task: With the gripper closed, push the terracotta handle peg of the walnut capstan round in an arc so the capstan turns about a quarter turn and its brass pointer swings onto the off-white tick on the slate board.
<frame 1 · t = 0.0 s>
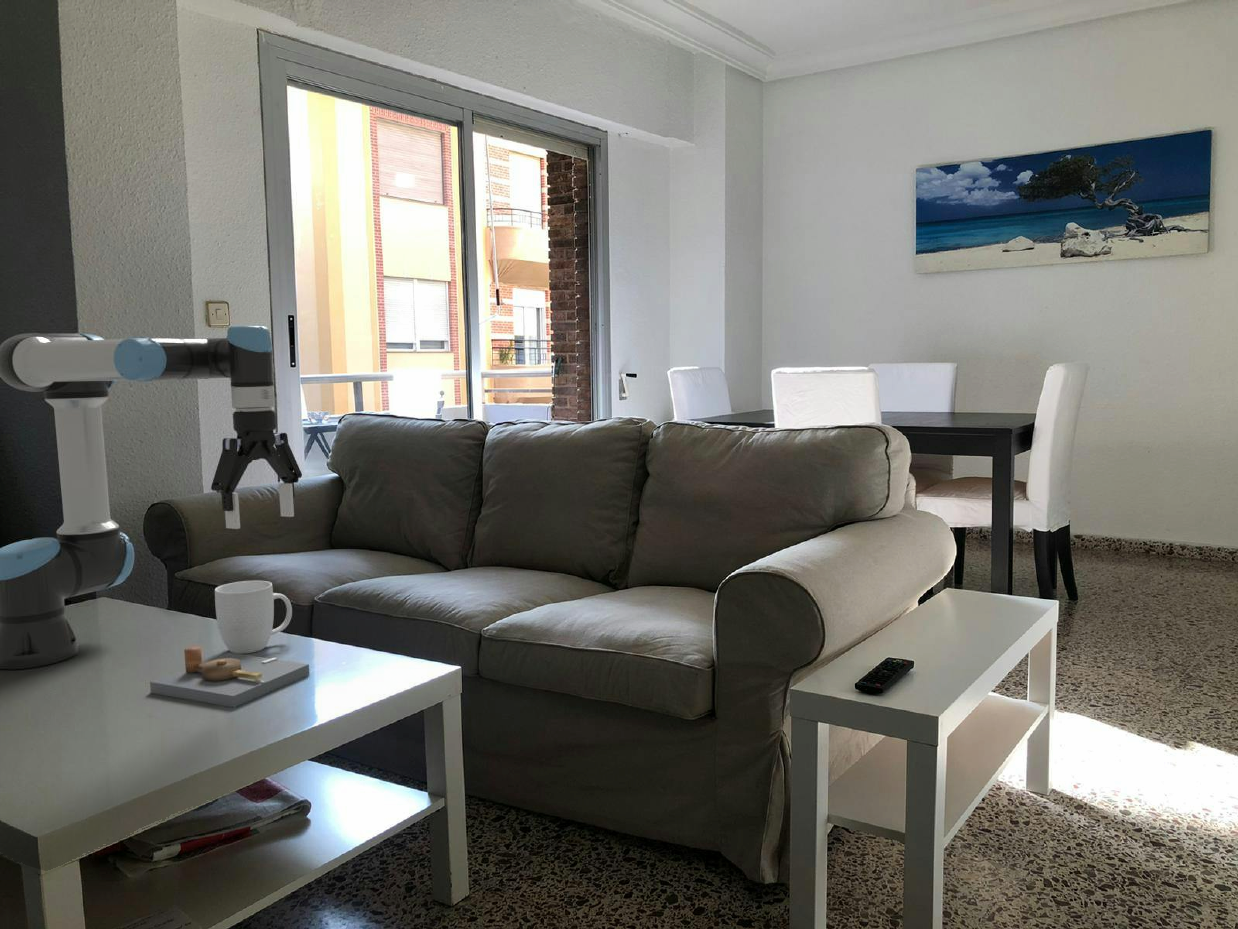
hand: (261, 522, 182), 28 cm above the table, fingers open, 13 cm apart
mug: (253, 649, 197), on the table
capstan: (222, 664, 173), point 4 cm above the table, hinge at 0.0°
board: (231, 683, 175), on the table
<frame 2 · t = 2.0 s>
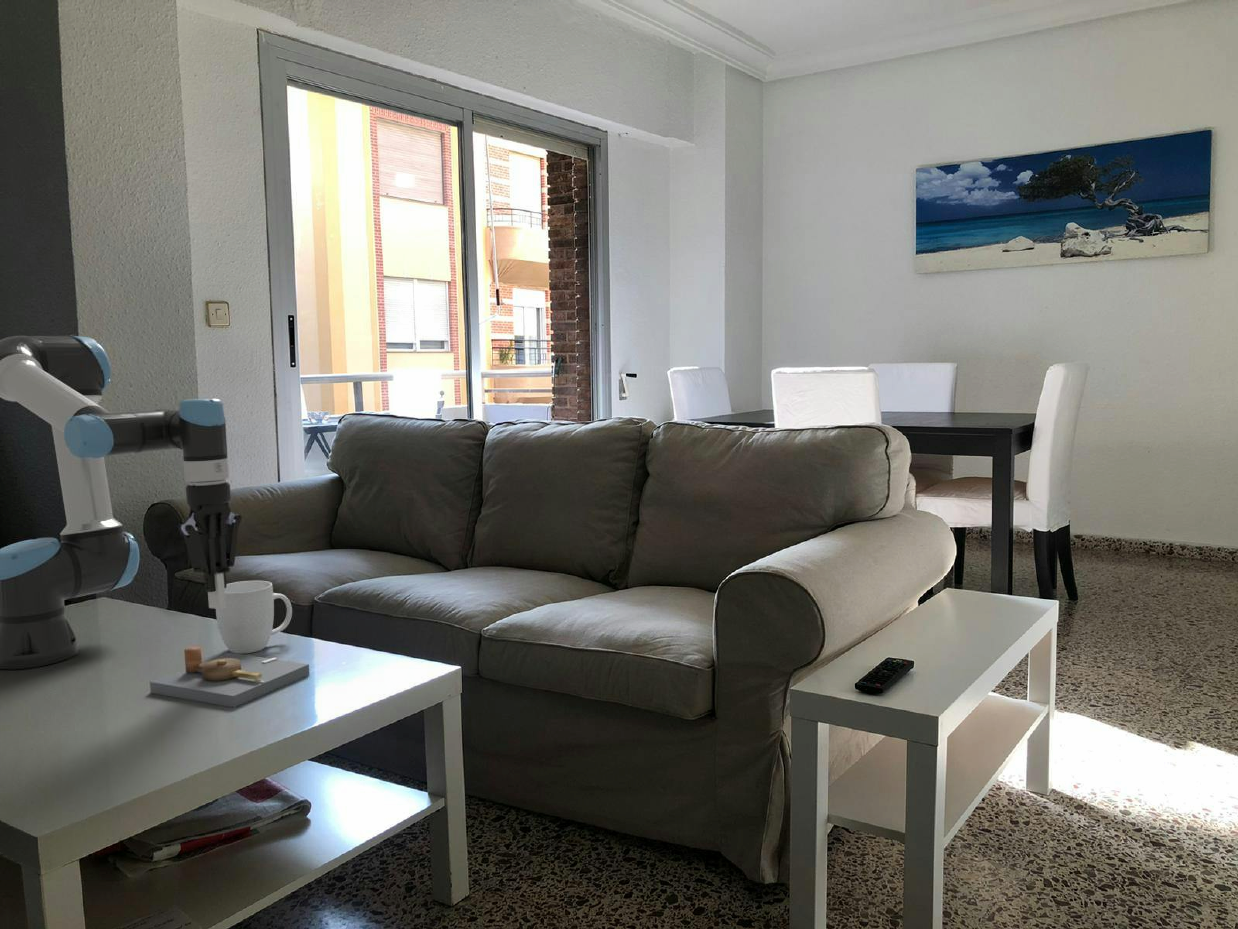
hand: (217, 607, 180), 13 cm above the table, fingers closed
nothing on the table moved.
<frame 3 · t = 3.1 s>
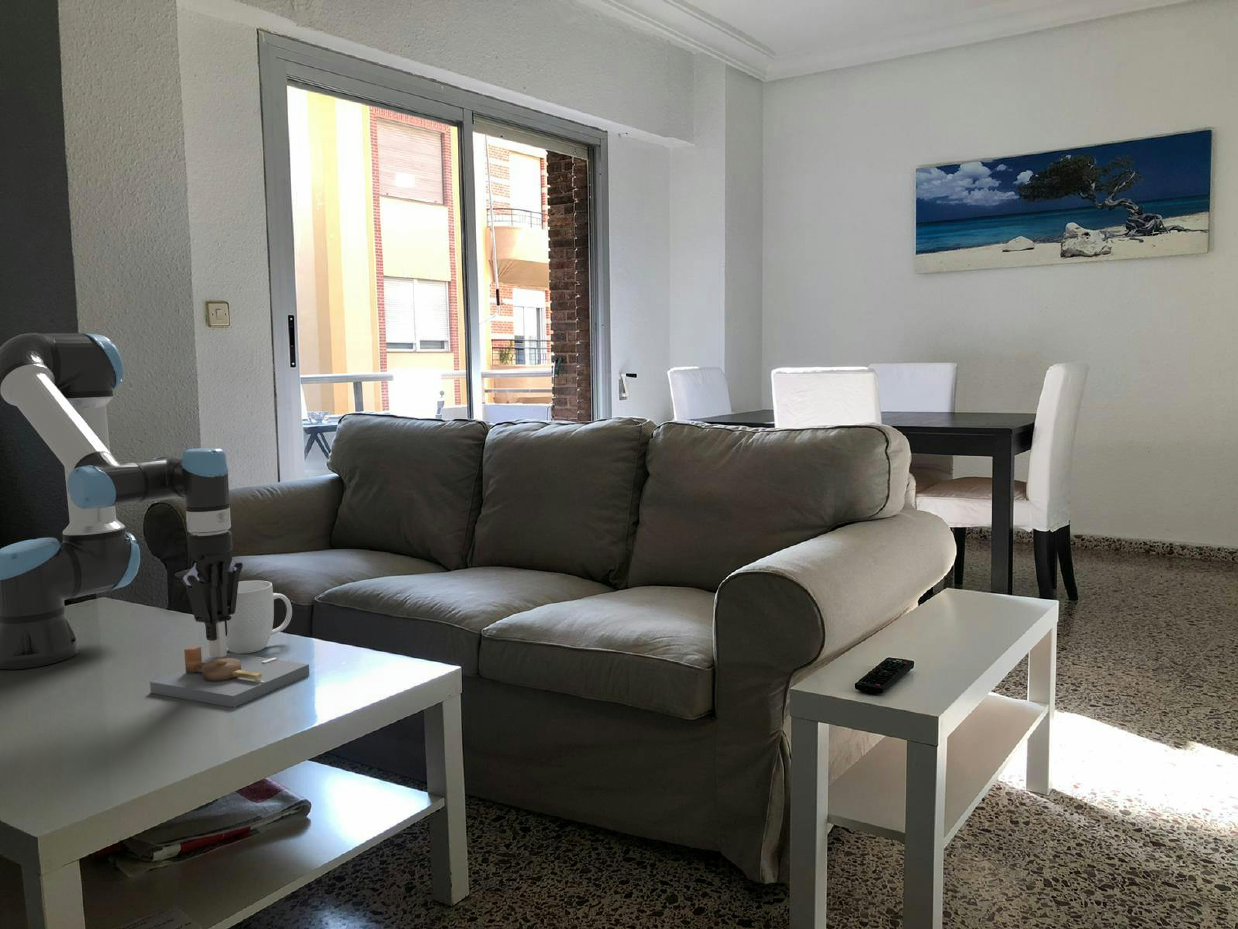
hand: (218, 655, 181), 3 cm above the table, fingers closed
nothing on the table moved.
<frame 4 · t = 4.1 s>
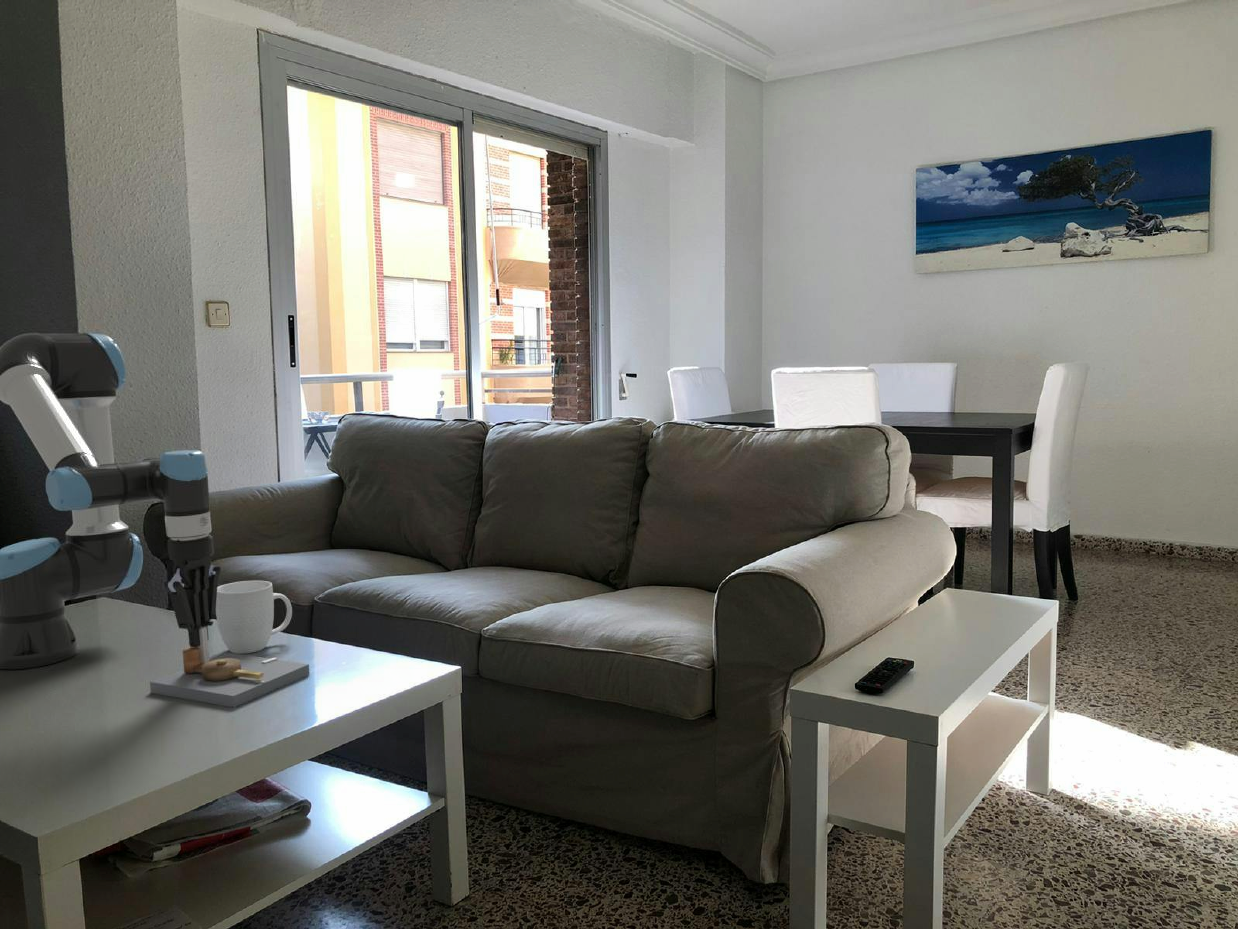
hand: (200, 661, 177), 3 cm above the table, fingers closed
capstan: (222, 664, 173), point 4 cm above the table, hinge at 3.1°, touching gripper
everything else where it was.
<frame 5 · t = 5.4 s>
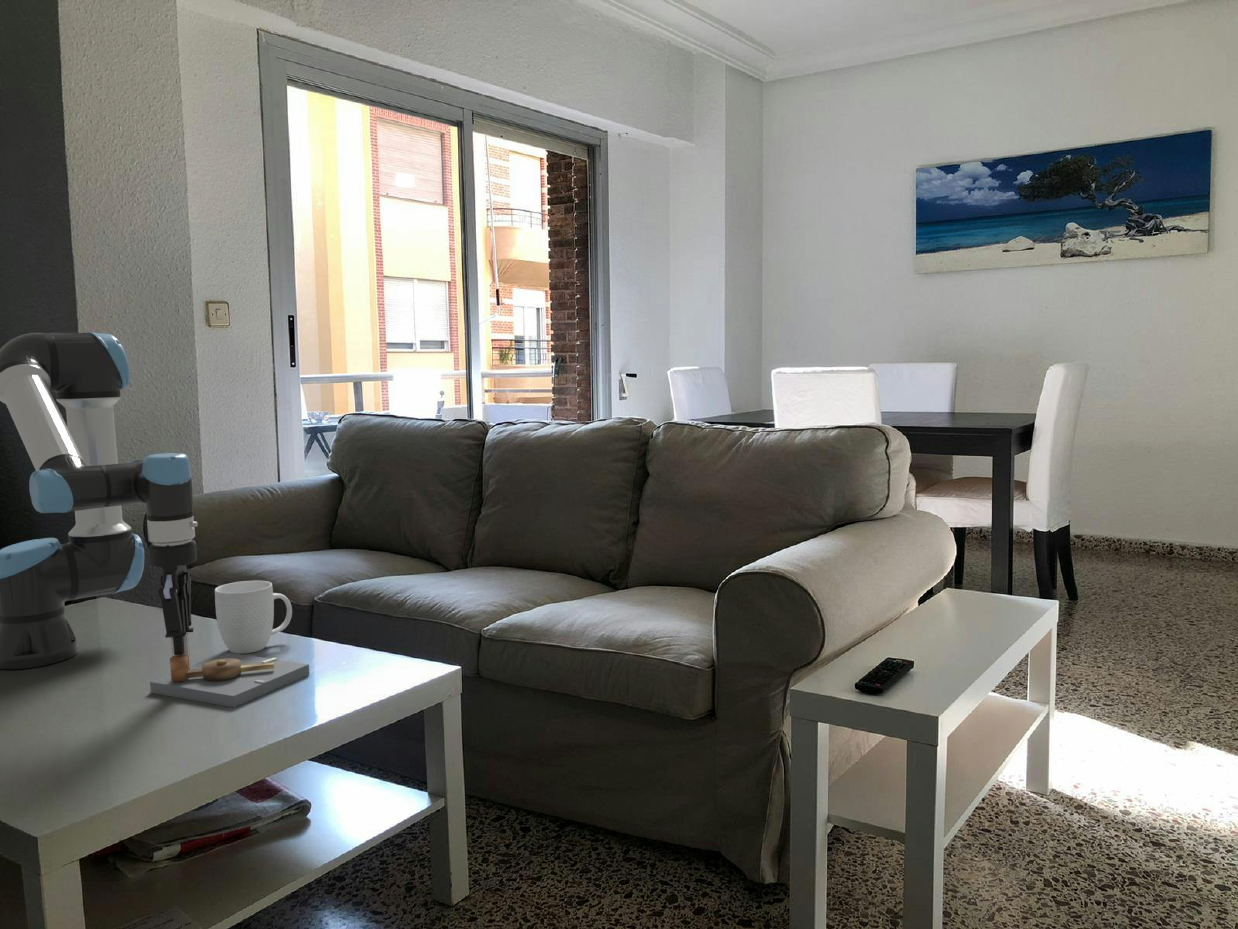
hand: (182, 670, 173), 3 cm above the table, fingers closed
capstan: (222, 663, 173), point 4 cm above the table, hinge at 41.4°, touching gripper
everything else where it was.
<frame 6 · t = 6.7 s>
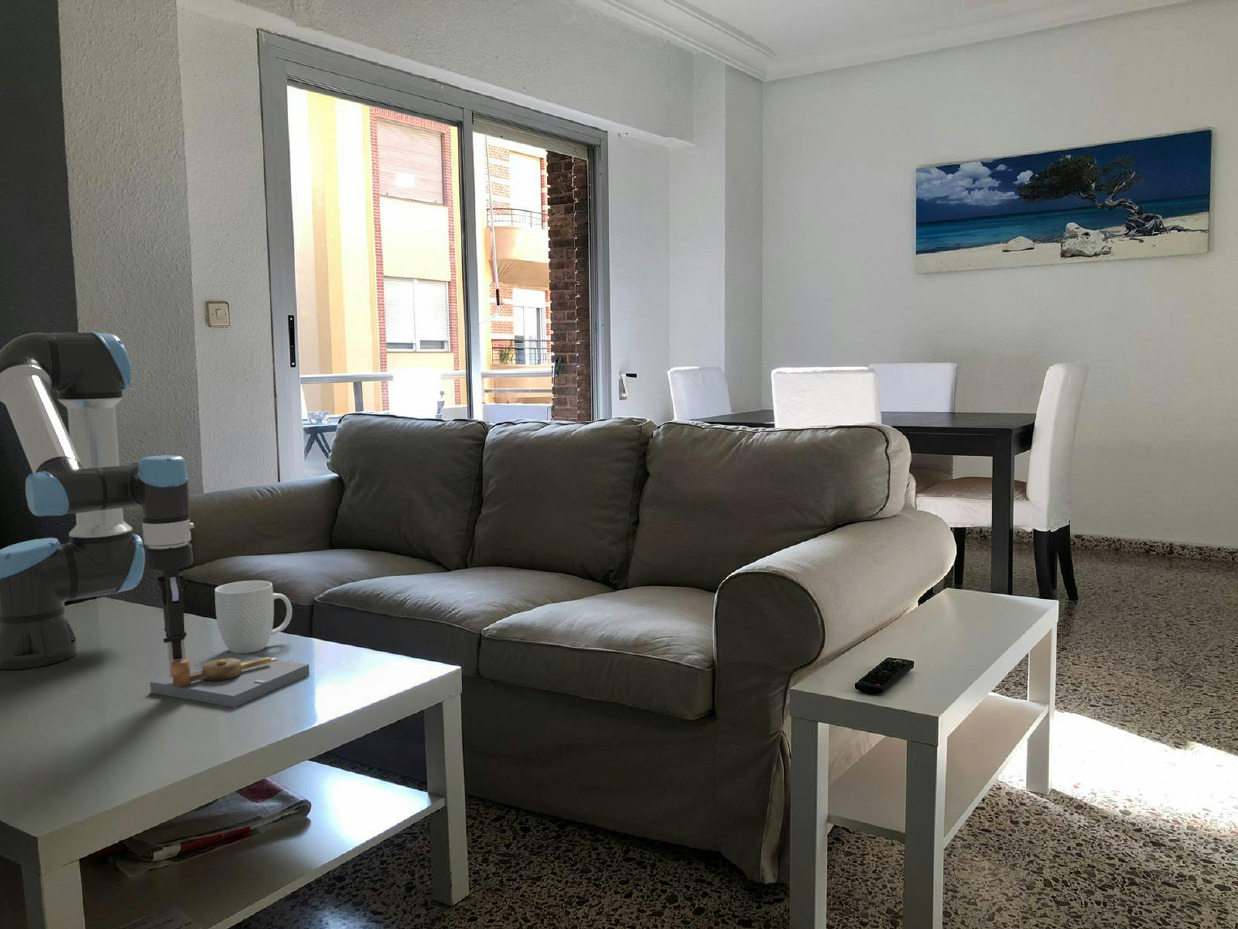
hand: (177, 675, 171), 3 cm above the table, fingers closed
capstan: (222, 663, 173), point 4 cm above the table, hinge at 67.6°
everything else where it was.
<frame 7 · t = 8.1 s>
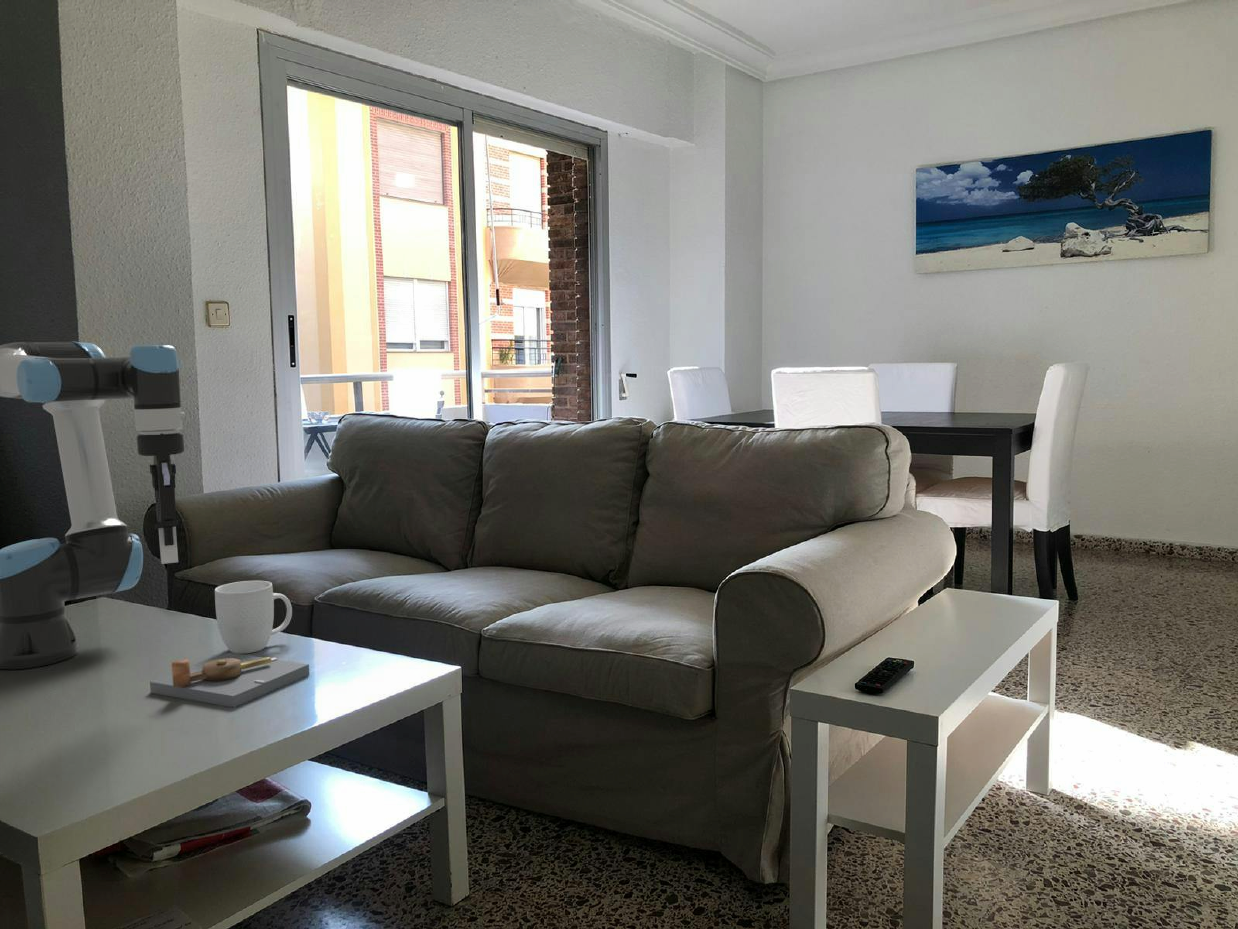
hand: (169, 562, 174), 22 cm above the table, fingers closed
nothing on the table moved.
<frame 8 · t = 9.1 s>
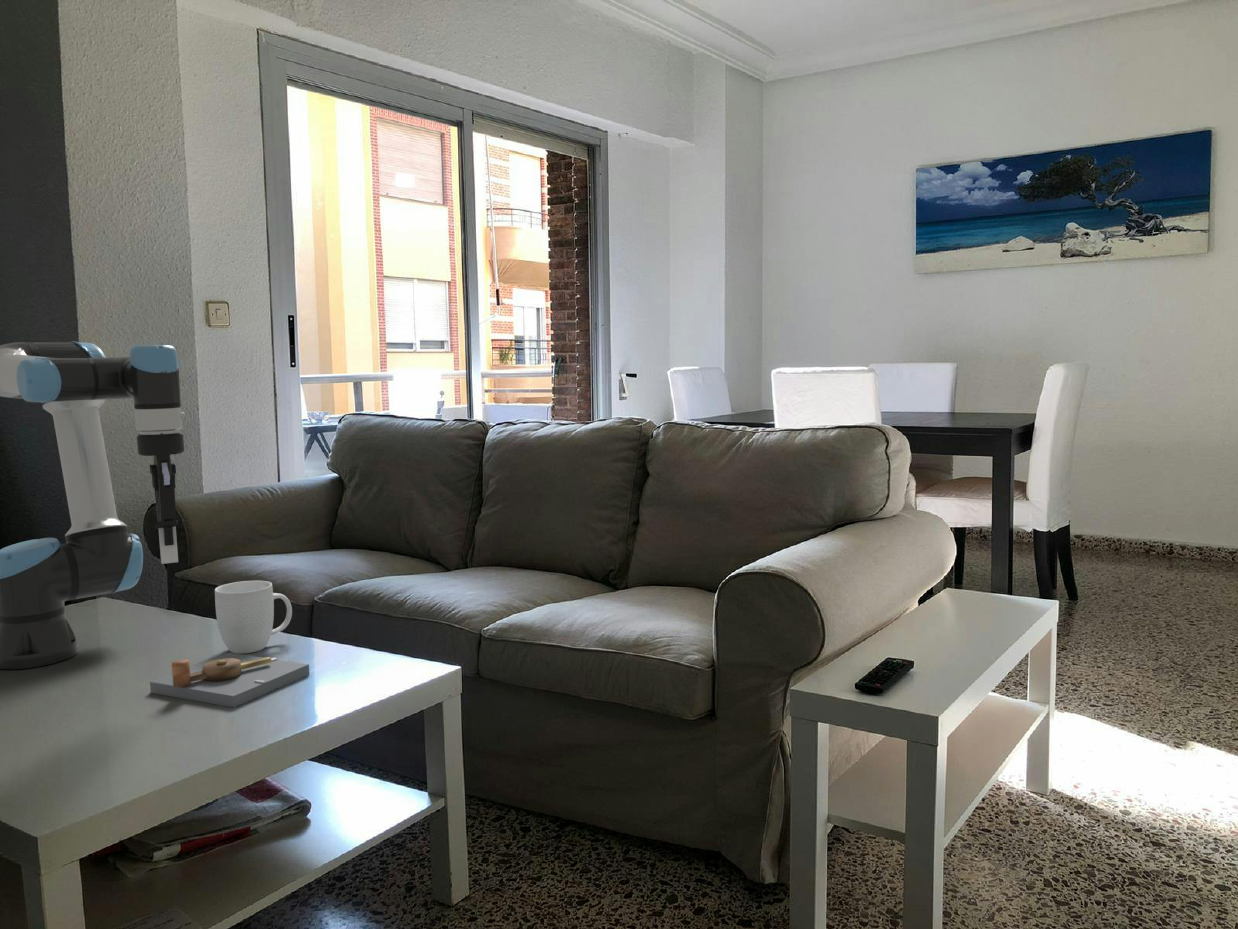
hand: (169, 562, 174), 22 cm above the table, fingers closed
nothing on the table moved.
at the end: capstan at +68° (first picture: +0°) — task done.
